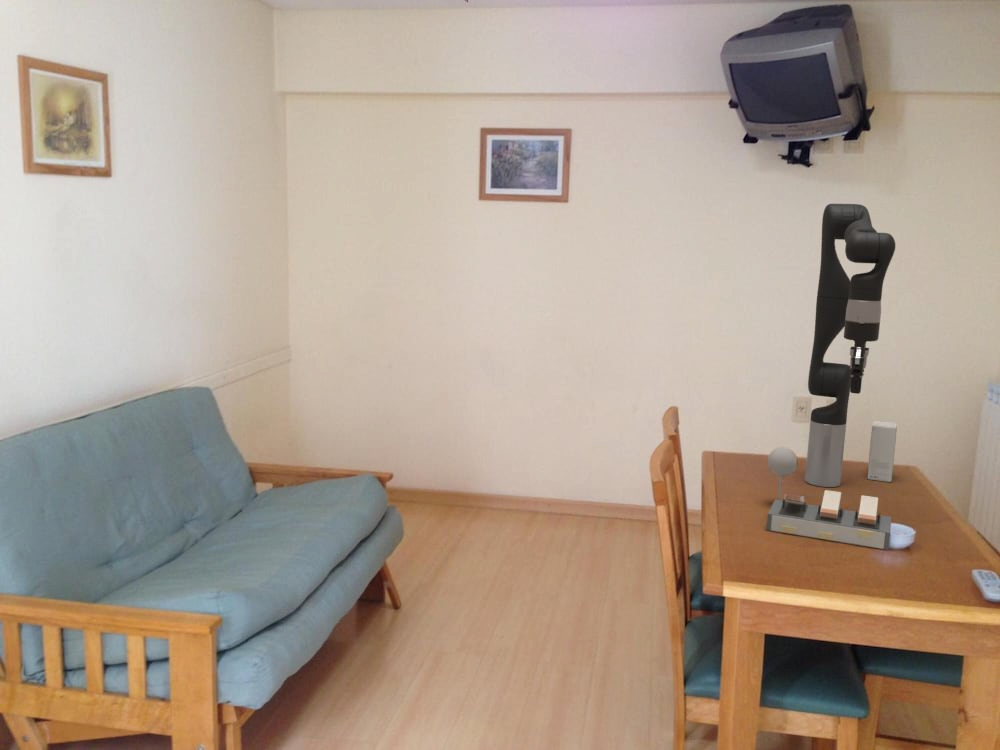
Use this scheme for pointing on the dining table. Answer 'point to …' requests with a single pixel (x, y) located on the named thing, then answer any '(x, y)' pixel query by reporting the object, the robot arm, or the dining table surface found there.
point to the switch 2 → (830, 504)
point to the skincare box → (882, 451)
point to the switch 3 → (868, 509)
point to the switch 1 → (794, 498)
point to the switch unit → (828, 525)
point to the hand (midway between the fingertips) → (855, 392)
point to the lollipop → (782, 463)
